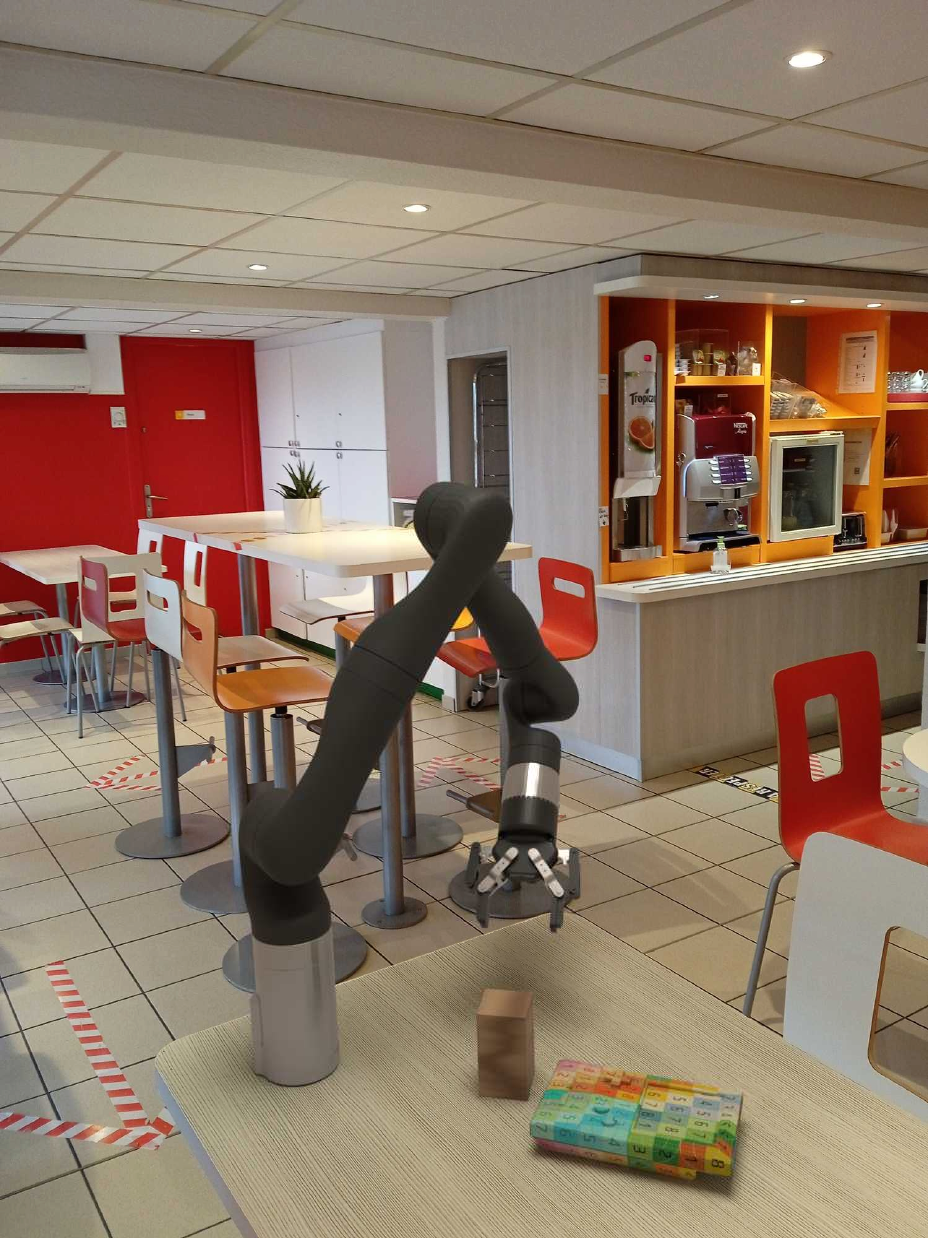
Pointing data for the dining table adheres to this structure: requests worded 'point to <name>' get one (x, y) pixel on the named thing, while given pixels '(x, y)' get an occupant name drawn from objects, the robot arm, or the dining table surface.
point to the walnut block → (505, 1044)
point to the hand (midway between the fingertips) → (518, 928)
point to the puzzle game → (638, 1120)
